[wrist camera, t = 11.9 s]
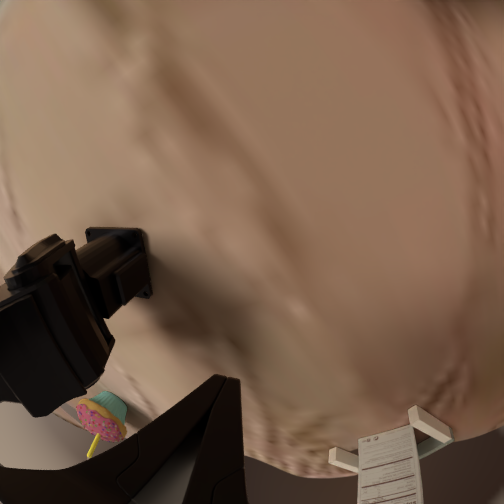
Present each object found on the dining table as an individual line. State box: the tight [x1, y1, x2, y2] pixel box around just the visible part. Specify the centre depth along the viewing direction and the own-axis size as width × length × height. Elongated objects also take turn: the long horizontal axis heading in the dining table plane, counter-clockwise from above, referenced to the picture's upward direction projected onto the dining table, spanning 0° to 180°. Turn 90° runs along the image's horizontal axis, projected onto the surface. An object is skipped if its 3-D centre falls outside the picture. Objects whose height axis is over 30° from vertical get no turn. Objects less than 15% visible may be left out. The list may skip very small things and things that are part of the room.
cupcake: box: [76, 391, 127, 460], centre depth 30 cm, size 9×8×12 cm
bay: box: [329, 405, 455, 473], centre depth 26 cm, size 11×13×2 cm
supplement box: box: [357, 424, 423, 504], centre depth 22 cm, size 7×7×13 cm
